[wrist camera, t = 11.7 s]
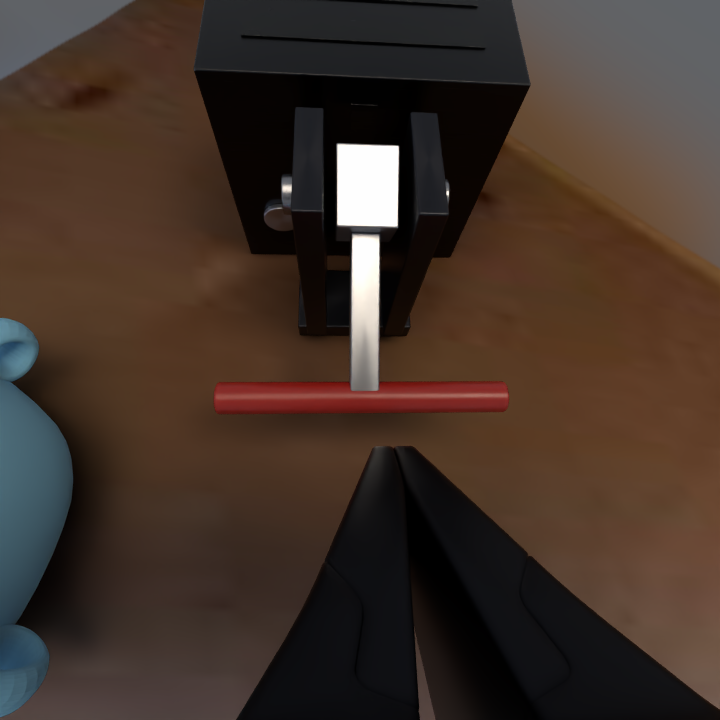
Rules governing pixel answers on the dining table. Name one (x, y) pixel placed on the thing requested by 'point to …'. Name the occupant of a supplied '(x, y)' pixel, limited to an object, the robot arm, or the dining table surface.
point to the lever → (363, 314)
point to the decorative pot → (26, 513)
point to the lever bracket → (400, 255)
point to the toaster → (356, 93)
